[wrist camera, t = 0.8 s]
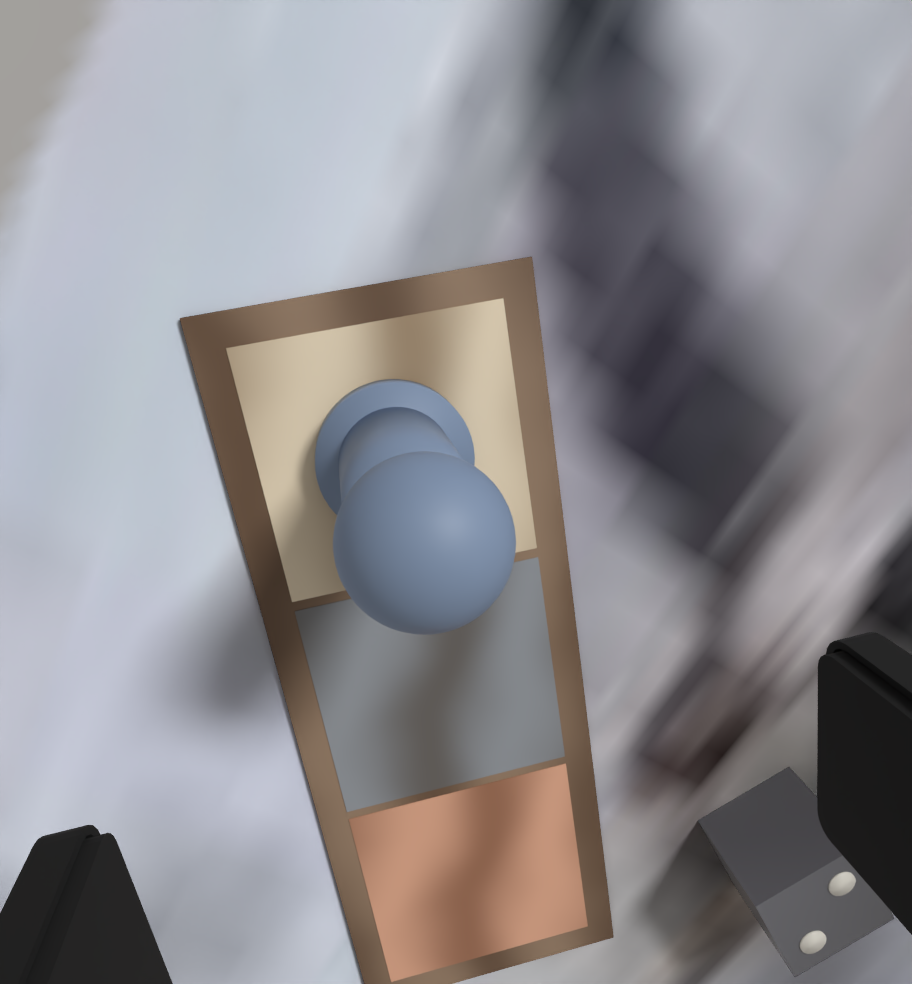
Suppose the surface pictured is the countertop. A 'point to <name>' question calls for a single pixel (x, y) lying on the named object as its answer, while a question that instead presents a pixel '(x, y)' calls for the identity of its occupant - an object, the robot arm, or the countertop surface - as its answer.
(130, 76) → the countertop surface
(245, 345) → the board
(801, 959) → the die
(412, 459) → the pawn
